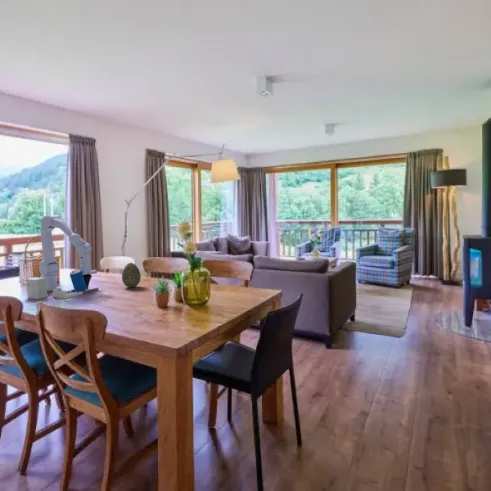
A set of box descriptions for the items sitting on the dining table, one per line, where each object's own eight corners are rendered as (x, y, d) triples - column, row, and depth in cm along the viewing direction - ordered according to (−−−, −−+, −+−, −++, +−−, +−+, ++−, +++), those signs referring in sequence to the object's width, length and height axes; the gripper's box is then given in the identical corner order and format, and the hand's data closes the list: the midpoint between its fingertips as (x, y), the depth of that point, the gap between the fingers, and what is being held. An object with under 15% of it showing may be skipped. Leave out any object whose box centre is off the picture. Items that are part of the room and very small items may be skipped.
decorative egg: (133, 284, 228) (132, 261, 227) (144, 286, 222) (143, 262, 221) (118, 288, 219) (117, 263, 218) (130, 290, 213) (129, 264, 212)
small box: (47, 296, 199) (46, 277, 198) (38, 299, 194) (37, 279, 192) (36, 295, 201) (35, 277, 200) (27, 298, 196) (25, 278, 195)
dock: (53, 296, 199) (52, 288, 199) (87, 288, 219) (86, 281, 218) (64, 298, 195) (64, 290, 194) (98, 290, 214) (98, 282, 214)
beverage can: (77, 289, 212) (71, 270, 208) (88, 287, 212) (83, 268, 208) (73, 294, 206) (67, 274, 202) (85, 292, 206) (79, 273, 202)
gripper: (79, 266, 202) (80, 290, 204) (100, 263, 215) (101, 285, 217) (70, 265, 206) (71, 289, 207) (91, 262, 219) (93, 284, 220)
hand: (86, 287), depth 212 cm, fingers closed
